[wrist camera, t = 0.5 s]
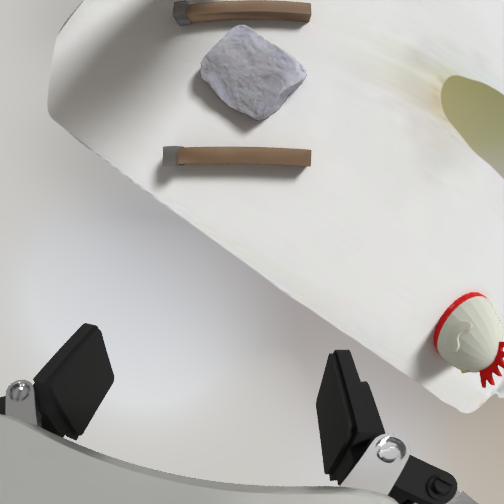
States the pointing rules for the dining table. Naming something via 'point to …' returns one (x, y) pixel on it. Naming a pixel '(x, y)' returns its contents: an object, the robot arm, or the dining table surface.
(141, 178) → the dining table surface
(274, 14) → the walnut chute
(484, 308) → the white crested dome
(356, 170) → the dining table surface
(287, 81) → the stone block
